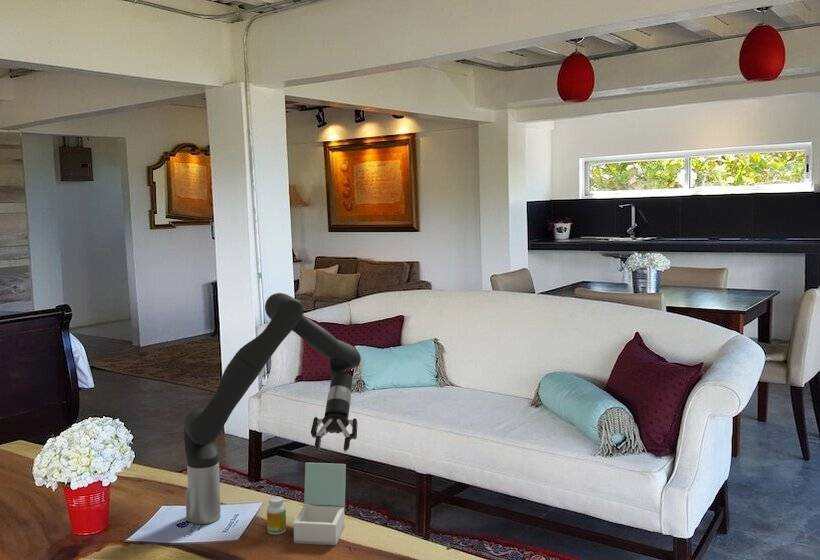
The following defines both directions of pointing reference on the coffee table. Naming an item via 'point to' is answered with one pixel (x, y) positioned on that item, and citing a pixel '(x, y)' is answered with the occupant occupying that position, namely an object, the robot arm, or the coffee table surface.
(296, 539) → the storage box
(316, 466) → the lid
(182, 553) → the coffee table surface
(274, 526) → the supplement bottle
